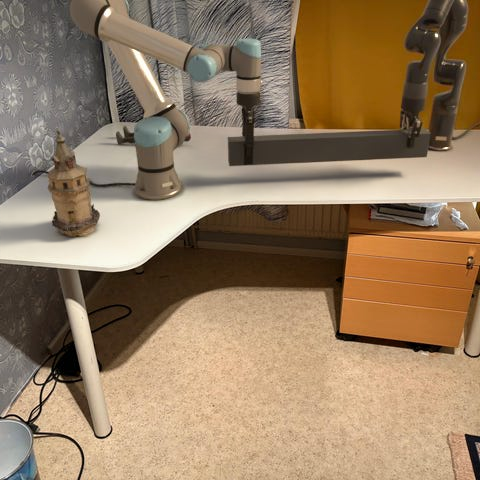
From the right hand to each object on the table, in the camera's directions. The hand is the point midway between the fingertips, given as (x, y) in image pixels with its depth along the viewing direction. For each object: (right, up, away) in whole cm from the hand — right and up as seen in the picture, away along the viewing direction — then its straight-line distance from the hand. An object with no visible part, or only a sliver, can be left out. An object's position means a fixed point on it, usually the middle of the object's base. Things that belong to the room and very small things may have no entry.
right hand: (407, 144), depth 182 cm
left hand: (-54, -6, -2) cm, 55 cm away
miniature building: (-104, -29, -27) cm, 111 cm away
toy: (-91, +7, +38) cm, 99 cm away
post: (-27, -5, 0) cm, 27 cm away
